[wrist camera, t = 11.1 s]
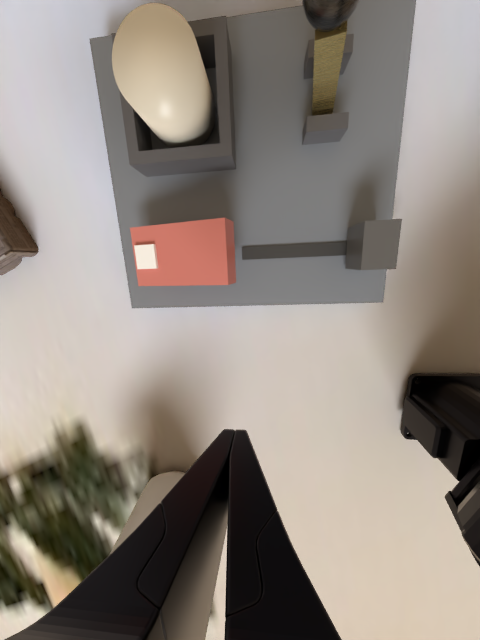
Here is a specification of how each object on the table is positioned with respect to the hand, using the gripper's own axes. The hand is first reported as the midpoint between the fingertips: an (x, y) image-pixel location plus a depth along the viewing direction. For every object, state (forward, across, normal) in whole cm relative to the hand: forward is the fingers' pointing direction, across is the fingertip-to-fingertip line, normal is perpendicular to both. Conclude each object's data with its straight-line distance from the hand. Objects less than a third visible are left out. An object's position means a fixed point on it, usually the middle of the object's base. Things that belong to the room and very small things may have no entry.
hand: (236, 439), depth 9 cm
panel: (+13, 0, -12) cm, 18 cm away
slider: (+11, -8, -7) cm, 15 cm away
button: (+10, +4, -16) cm, 19 cm away
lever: (+11, -5, -16) cm, 20 cm away
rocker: (+10, +4, -7) cm, 13 cm away
